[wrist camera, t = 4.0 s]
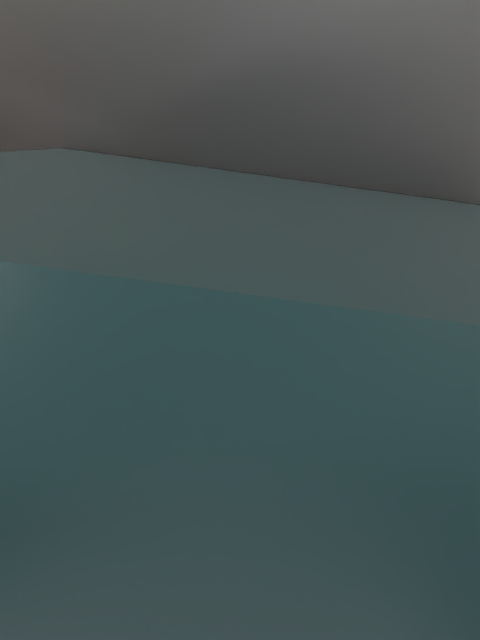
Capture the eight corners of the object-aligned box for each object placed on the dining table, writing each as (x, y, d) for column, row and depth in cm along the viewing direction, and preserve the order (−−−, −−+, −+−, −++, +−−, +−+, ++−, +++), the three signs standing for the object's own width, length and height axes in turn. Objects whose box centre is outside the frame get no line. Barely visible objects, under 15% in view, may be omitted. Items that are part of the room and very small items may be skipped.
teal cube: (381, 522, 15) (529, 998, 7) (69, 482, 15) (-168, 914, 7) (485, 205, 11) (1146, 415, 3) (62, 148, 11) (-542, 188, 3)
